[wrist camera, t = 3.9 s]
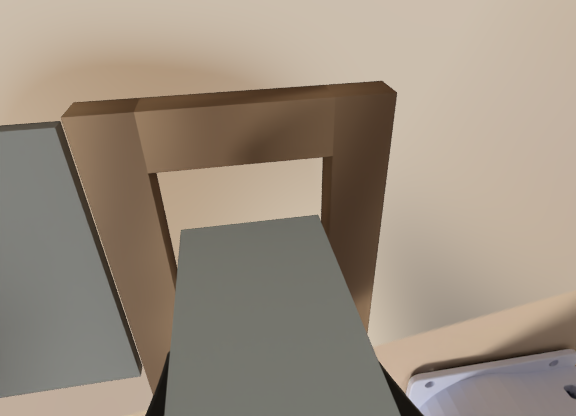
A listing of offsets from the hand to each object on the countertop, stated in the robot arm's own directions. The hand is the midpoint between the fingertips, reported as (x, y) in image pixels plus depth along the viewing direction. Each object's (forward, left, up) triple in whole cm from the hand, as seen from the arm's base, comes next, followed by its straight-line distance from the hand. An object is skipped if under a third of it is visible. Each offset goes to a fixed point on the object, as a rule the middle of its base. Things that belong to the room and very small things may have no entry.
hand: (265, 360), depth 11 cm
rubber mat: (+9, 0, -5) cm, 10 cm away
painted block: (0, 0, -2) cm, 2 cm away
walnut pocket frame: (0, 0, -5) cm, 5 cm away
